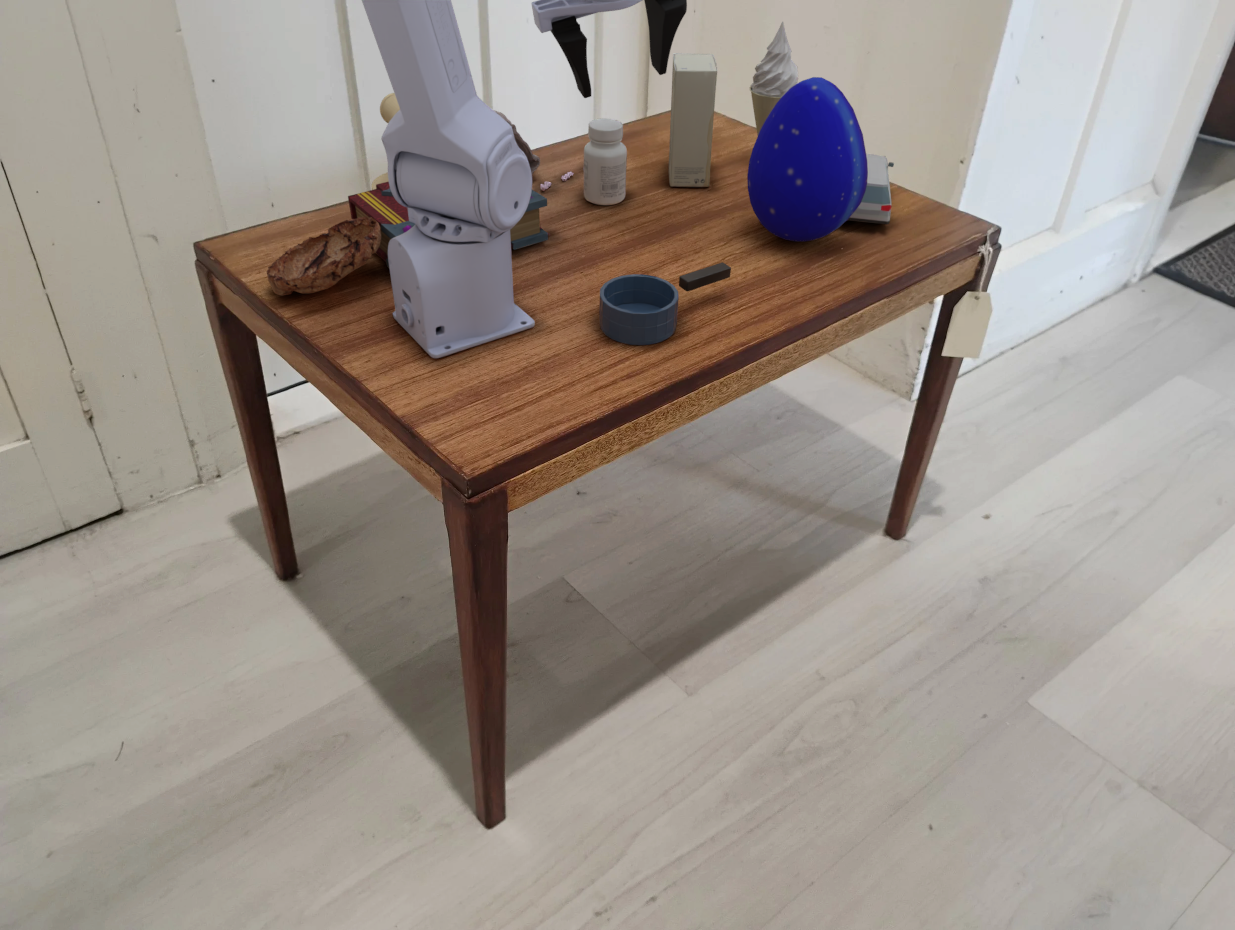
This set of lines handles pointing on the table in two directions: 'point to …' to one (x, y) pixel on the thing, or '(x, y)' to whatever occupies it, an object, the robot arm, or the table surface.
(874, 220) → the toy car
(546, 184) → the pink molecule models
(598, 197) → the pill bottle
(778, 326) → the table surface
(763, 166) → the ornament
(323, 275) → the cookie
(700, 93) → the cosmetic box
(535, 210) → the decorative book
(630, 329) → the dark grey open cylinder
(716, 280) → the dark grey rectangular bar
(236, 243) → the table surface
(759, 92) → the ice cream cone
